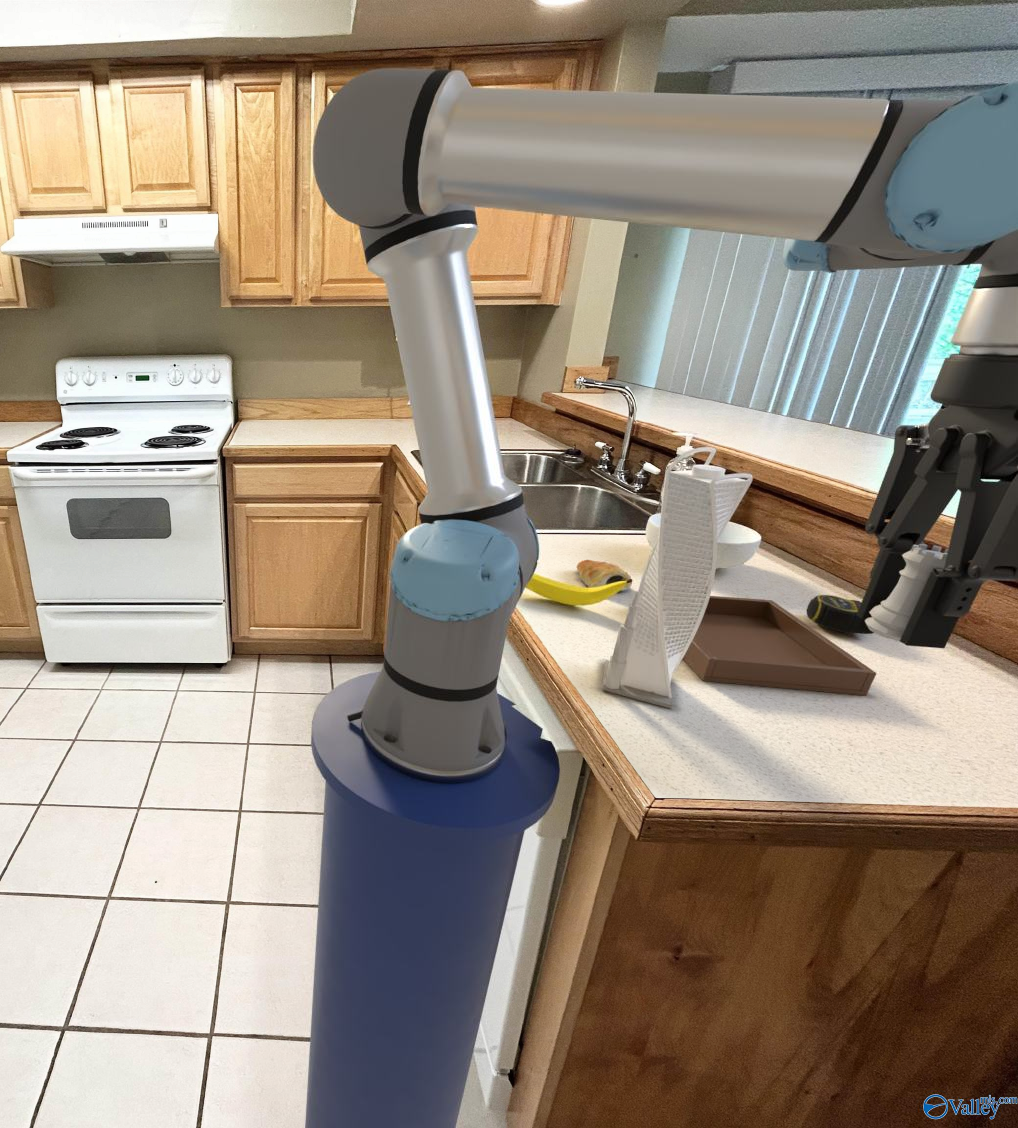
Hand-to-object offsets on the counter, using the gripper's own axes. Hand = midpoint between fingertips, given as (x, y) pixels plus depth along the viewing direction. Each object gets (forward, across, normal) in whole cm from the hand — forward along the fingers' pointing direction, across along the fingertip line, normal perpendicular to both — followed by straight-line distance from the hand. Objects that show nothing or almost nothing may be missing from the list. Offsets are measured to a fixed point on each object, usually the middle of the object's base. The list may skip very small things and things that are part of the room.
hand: (898, 630), depth 52 cm
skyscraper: (+15, +12, +13) cm, 24 cm away
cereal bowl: (+15, +56, -12) cm, 59 cm away
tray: (+15, +24, -3) cm, 29 cm away
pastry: (+15, +43, +8) cm, 46 cm away
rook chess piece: (0, 0, 0) cm, 0 cm away
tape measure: (+15, +33, -21) cm, 42 cm away
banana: (+15, +34, +18) cm, 41 cm away
